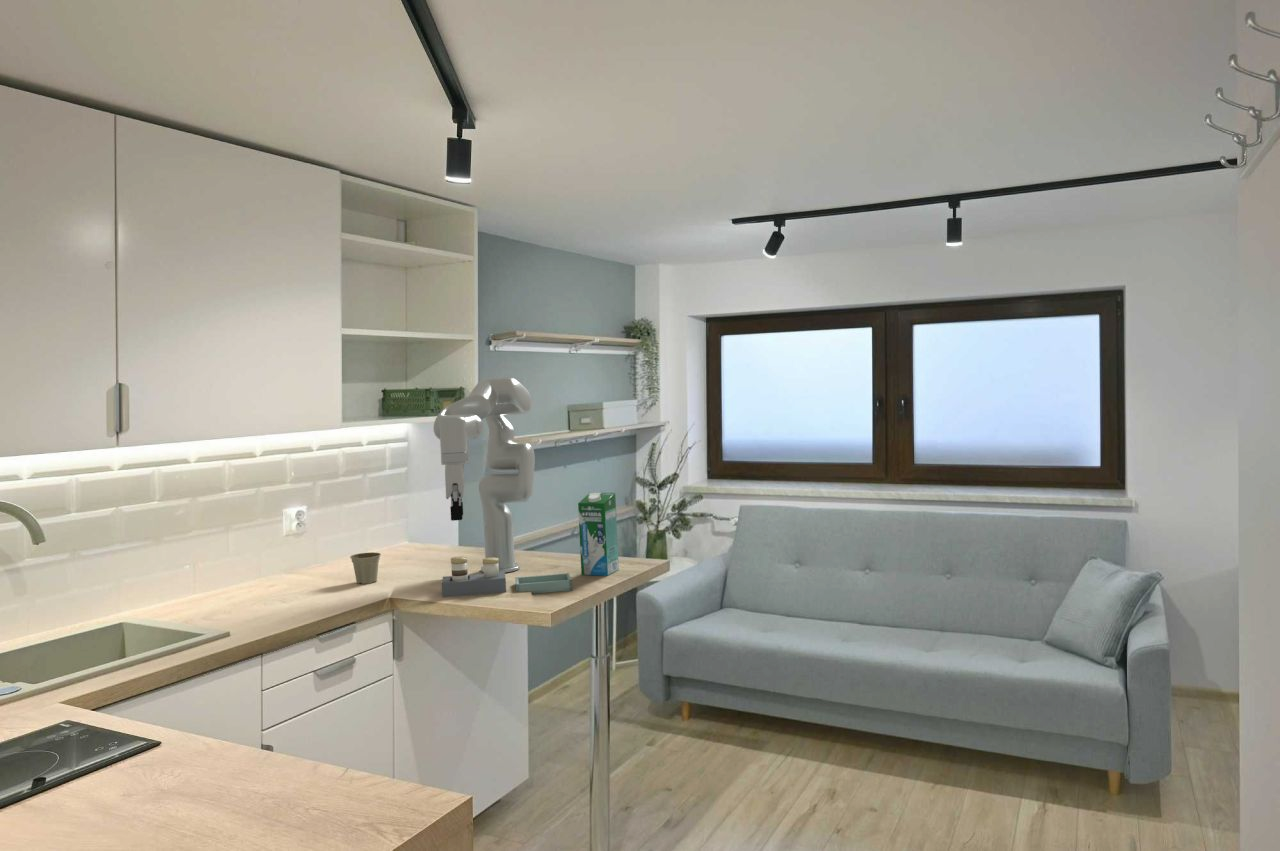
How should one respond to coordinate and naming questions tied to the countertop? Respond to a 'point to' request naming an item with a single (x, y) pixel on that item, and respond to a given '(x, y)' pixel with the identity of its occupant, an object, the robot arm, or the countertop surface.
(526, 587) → the tray
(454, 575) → the fuse
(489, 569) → the block
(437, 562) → the countertop surface
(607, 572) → the milk carton
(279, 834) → the countertop surface
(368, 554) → the flower pot
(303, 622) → the countertop surface
